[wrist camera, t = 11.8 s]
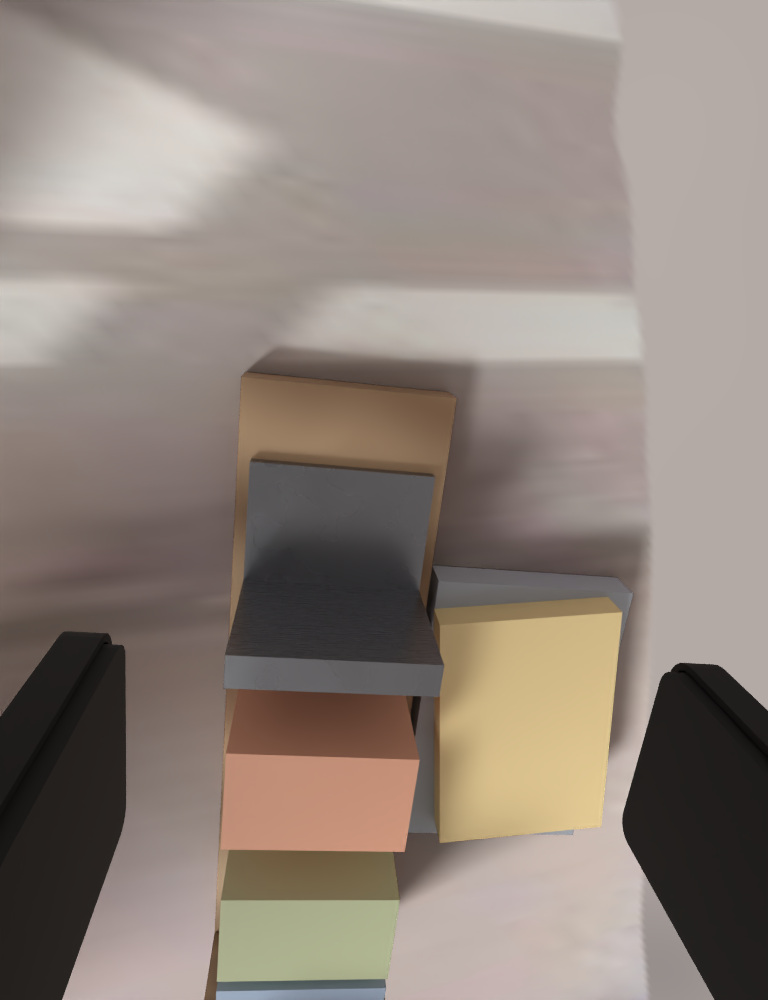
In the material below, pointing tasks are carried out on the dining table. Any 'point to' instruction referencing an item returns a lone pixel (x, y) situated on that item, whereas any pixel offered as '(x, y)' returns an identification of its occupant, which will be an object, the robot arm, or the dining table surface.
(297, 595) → the bookend
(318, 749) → the terracotta book
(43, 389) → the dining table surface
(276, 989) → the blue book
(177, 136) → the dining table surface
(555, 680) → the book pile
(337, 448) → the shelf
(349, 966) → the olive book
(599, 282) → the dining table surface
